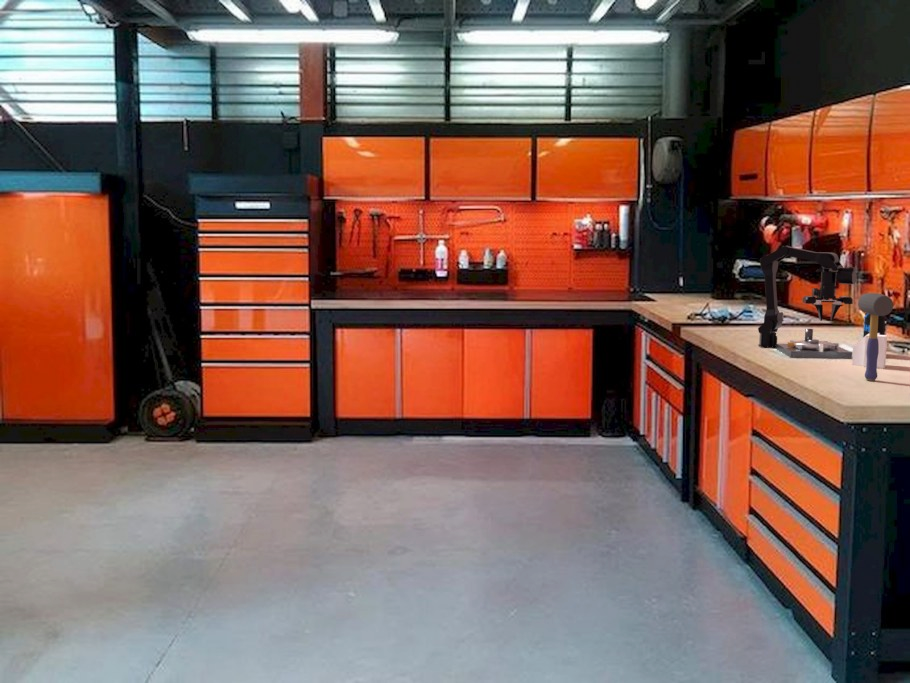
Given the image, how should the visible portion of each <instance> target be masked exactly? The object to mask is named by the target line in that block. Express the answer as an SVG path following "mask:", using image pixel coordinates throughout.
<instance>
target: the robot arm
mask: <svg viewBox="0 0 910 683" xmlns="http://www.w3.org/2000/svg"><path fill="white" fill-rule="evenodd" d="M787 257H790V258H791V257H792V258H796V259H802V260H807V261H811V262H812V263H813V262H814V263H816V264H817V265H820V267H819V268H818V269H816V271H815V272H817V273H820V274H821V276H820V278H821V279H820V285H819V288H818V287H817V288H816V287H813V288H812V290H811V295H804V296H803V297H802V303H803V304H811V305H812V306H814V307H815V309H816V311H817V314H818V318H819V321H820V322H823V314H824V313H823V312H824V311H823V309H824V308H823V306H824V304H823V303H831V312H830V322H833V321H834V318H835V316H836V314H837V313H838V311H839V309H840V307H843V306H844V305H853V299H854V298H852V297H851V296H842V295H840V296H839V297H837V296H836V289H837V284H836V283H837V282H838V284H840V285H841V284H842V285H855V284H856V283H857V282H856V281H857V272H856V267H844V266H843V265H842V263H841V262H840V259H839V255H838V254H837V253H835V252H821V251H819V252H816V251H812V250H807V249H803V248H802V249H801V248H799V247H798V248H797V247H793V246H790V245H782V246H781V247H780V248H778V249H777V250H775V251H773V252H771V253H769V254H766V255H763V256H762V257H760V258H759V259H760V260H759V264H760V265H759V266H760V270H761V271H762V274H763V277H764V288H765V289H764V290H765V302H766V303H765V304H766V305H765V307H766V308H765V314H764V316H763V323H762V324H761V325H760V326H759V327H758V328H757V331H758V333H759V342H758V347H760V348H776V344H778V336H777V333H778V329H780V328H781V327H782V325H783V323H784V321H785V320H784V316H783V315H784V312H783V311H780V310H779V307H778V296H777V294H778V293H777V278H776V277H777V276H776V275H777V272H778V269H779V263H780V262H781V261H783V260H784V259H785V258H787ZM843 304H844V305H843Z"/></svg>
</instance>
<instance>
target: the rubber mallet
mask: <svg viewBox="0 0 910 683" xmlns="http://www.w3.org/2000/svg"><path fill="white" fill-rule="evenodd" d="M857 306H858V309H859V310H860V311H862V312H863V313H865V314H871V318H870V332H869V339H868V343H867V352H866V354H867V366H866V367H865V373H864V377H865V380H866V381H868V382H874V381H876V380H877V379H878V370H877V369H878V368H877V358H878V353H879V343H878V338H877V333H878V316H885V317H886V316H888V315H889V314H890V313H891V312H892V311H893V310H894V301H893V300H892V298H891V297H889V296H888V295H885V294H882V293H877V292H876V293H875V292H865V293H863V294H861V295H860V297H859V298H858V301H857Z"/></svg>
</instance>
